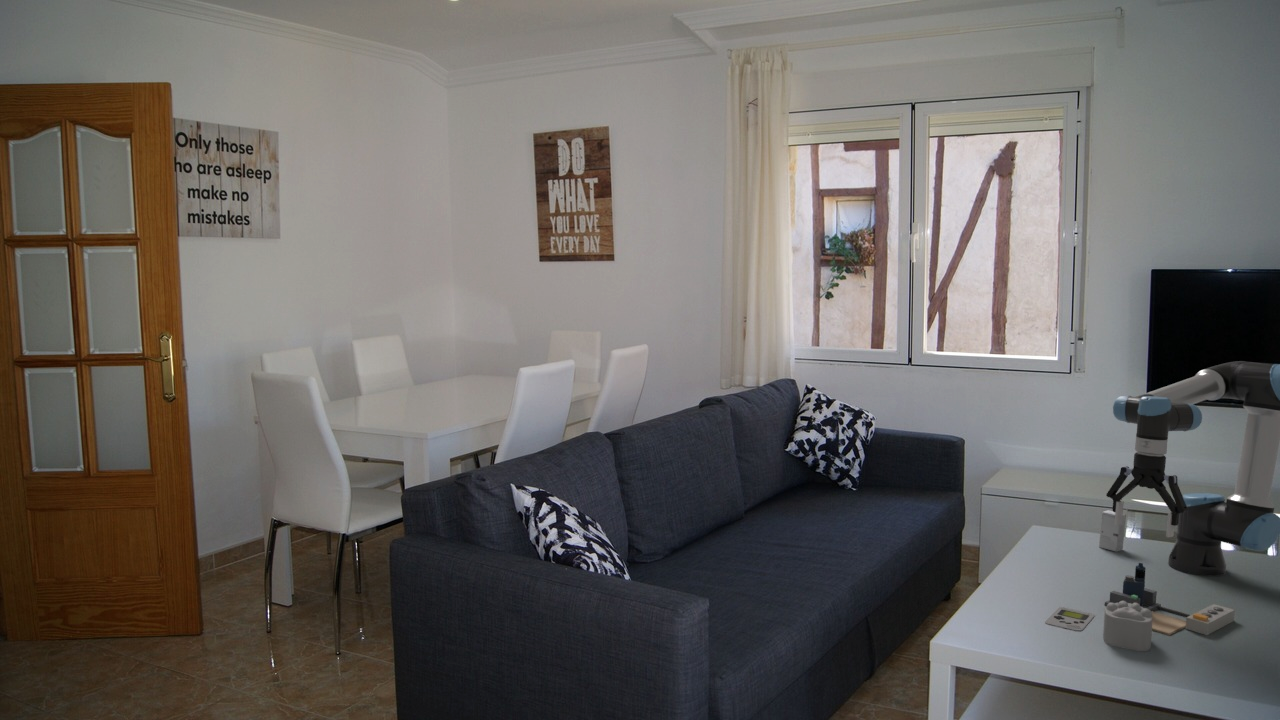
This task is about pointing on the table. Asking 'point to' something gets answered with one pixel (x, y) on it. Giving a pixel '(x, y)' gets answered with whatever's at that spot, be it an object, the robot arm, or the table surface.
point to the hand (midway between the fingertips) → (1143, 530)
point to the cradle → (1148, 600)
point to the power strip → (1210, 619)
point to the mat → (1166, 624)
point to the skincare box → (1111, 532)
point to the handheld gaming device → (1070, 619)
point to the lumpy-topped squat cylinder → (1128, 626)
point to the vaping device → (1135, 583)
